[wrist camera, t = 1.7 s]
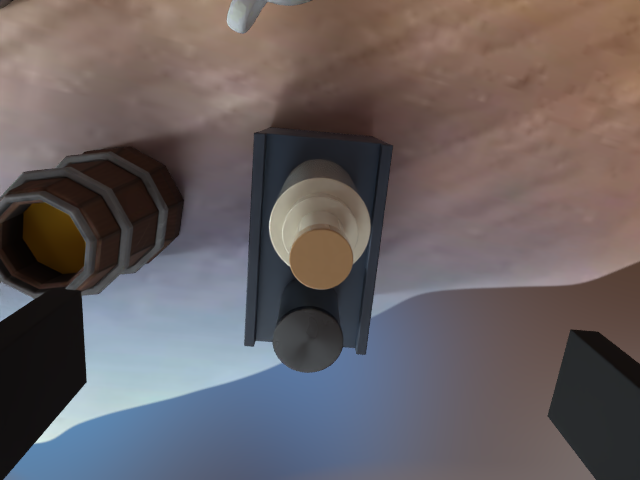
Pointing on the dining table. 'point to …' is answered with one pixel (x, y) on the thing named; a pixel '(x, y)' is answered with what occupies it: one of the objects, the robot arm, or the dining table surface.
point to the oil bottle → (319, 223)
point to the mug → (86, 221)
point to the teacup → (251, 12)
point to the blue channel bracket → (267, 180)
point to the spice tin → (308, 328)
